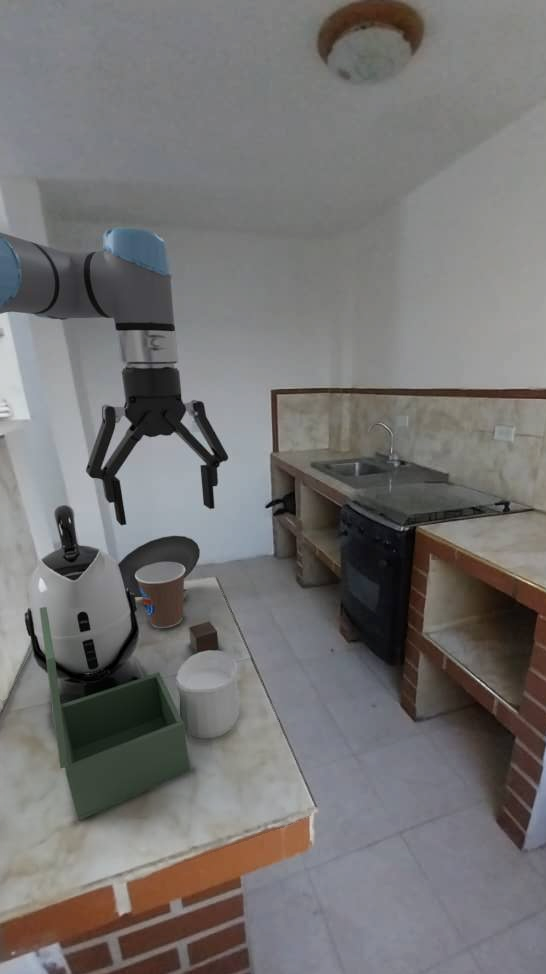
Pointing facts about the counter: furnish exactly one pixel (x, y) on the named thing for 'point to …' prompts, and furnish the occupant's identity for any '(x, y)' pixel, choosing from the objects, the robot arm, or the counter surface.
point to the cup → (208, 694)
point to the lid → (54, 687)
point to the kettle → (83, 615)
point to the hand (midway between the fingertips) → (167, 514)
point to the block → (203, 637)
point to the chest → (122, 743)
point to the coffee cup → (162, 592)
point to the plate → (158, 558)
